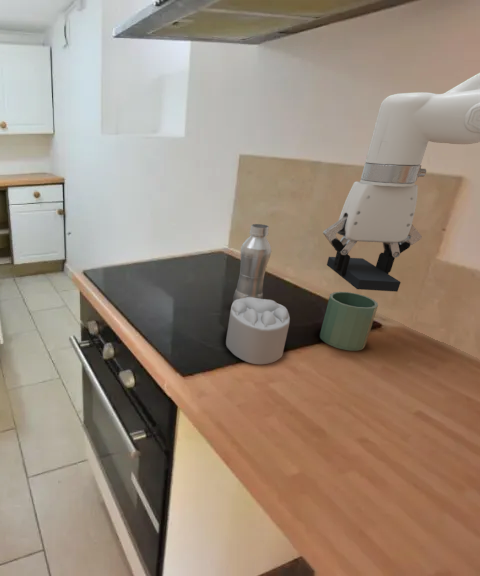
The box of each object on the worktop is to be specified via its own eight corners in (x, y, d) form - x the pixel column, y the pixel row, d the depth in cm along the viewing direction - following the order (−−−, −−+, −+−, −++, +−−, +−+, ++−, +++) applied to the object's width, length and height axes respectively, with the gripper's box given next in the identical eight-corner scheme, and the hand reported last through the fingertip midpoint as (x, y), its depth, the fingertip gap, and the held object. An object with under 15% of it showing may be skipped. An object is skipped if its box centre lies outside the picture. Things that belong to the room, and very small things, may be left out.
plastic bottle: (263, 307, 90) (278, 224, 83) (257, 318, 85) (273, 231, 77) (235, 301, 94) (247, 221, 86) (228, 311, 88) (240, 227, 81)
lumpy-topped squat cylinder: (281, 335, 78) (289, 297, 74) (284, 369, 67) (294, 326, 63) (228, 326, 81) (233, 289, 78) (223, 357, 70) (229, 315, 67)
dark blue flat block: (360, 266, 76) (362, 258, 76) (397, 291, 65) (400, 282, 64) (326, 265, 77) (328, 256, 77) (357, 289, 65) (359, 279, 65)
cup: (353, 332, 79) (365, 292, 76) (372, 352, 72) (386, 309, 69) (313, 329, 80) (323, 290, 77) (328, 349, 73) (340, 306, 70)
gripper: (430, 174, 66) (398, 270, 73) (324, 171, 68) (303, 265, 75) (462, 179, 59) (423, 285, 66) (343, 176, 62) (317, 279, 69)
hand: (359, 273), depth 71 cm, fingers closed on dark blue flat block, 6 cm apart
